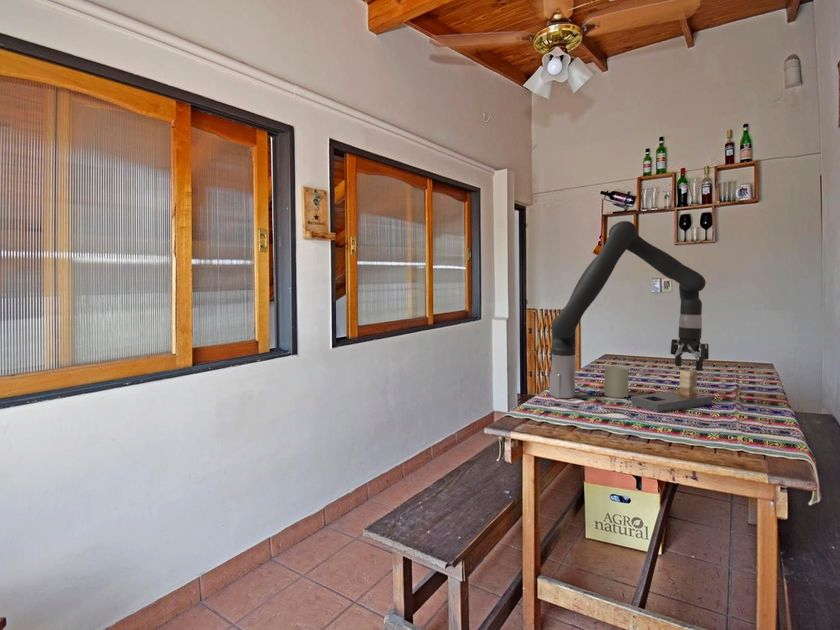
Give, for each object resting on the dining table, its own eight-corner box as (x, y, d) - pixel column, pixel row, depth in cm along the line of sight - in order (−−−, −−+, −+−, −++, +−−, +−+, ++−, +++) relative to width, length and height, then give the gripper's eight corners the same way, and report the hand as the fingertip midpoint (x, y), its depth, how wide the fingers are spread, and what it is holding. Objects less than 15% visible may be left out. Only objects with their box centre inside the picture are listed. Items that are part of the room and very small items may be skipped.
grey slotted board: (657, 412, 164) (657, 403, 163) (631, 404, 175) (631, 396, 175) (711, 404, 173) (712, 395, 173) (683, 396, 184) (683, 388, 184)
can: (623, 392, 193) (624, 364, 192) (631, 398, 184) (632, 368, 183) (601, 392, 194) (601, 364, 193) (607, 398, 185) (608, 368, 184)
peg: (688, 403, 174) (689, 372, 173) (679, 401, 178) (680, 370, 177) (696, 402, 176) (697, 371, 175) (686, 400, 179) (687, 369, 179)
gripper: (666, 324, 180) (665, 365, 181) (700, 328, 167) (698, 372, 168) (680, 324, 183) (679, 364, 184) (715, 327, 169) (712, 371, 171)
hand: (688, 368), depth 176 cm, fingers open, 8 cm apart
